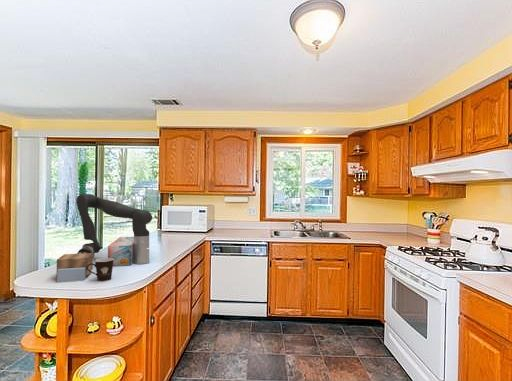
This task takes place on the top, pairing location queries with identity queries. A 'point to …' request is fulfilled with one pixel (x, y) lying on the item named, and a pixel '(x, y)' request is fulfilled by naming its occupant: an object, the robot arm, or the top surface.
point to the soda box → (122, 251)
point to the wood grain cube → (76, 261)
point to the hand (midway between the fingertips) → (78, 259)
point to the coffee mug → (103, 268)
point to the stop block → (70, 274)
